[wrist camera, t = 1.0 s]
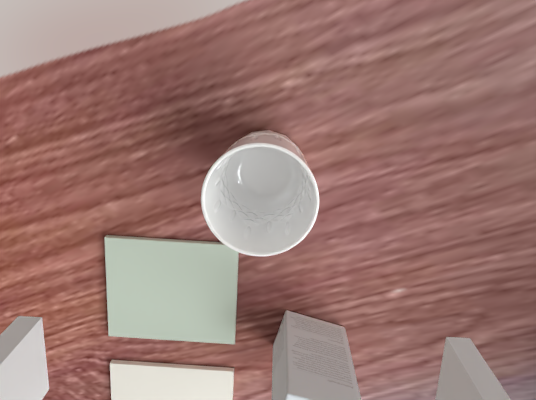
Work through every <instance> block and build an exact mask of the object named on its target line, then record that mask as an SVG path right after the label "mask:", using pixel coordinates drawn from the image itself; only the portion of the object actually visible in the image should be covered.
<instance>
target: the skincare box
mask: <svg viewBox="0 0 536 400" xmlns="http://www.w3.org/2000/svg"><path fill="white" fill-rule="evenodd" d="M272 400H361V396H360V392H359V388H358V383H357V379H356V375H355V370H354V366H353V361H352V357H351V353H350V348H349V343H348V339H347V335H346V330H345V328H344V327H343V326H339V325H336V324H332V323H329V322H325V321H322V320H319V319H315V318H312V317H308V316H305V315H301V314H298V313H295V312H291V311H288V310H286V311H285V314H284V317H283V319H282V322H281V325H280V328H279V330H278V333H277V336H276V339H275V342H274V344H273V366H272Z"/></svg>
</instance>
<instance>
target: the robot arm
mask: <svg viewBox="0 0 536 400" xmlns="http://www.w3.org/2000/svg"><path fill="white" fill-rule="evenodd" d="M48 390H49V382H48V372H47V362H46V352H45V342H44V332H43V322H42V317H26V316H18V317H17V318H16V319H15V320H14V321H13V322H12V323H11V324H10V325H9V326H8V327H7V329H6V330H5V331H4V332H3V333H2V334H1V335H0V400H42V399H43V397H44V396H45V394H46V393H47V391H48ZM435 400H511V399H510V397H509V396H508V394H507V393H506V391H505V390H504V388H503V387H502V385H501V384H500V382H499V381H498V379H497V378H496V376H495V375H494V374H493V372H492V371H491V369H490V368H489V366H488V365H487V363H486V362H485V360H484V359H483V357H482V356H481V354H480V353H479V351H478V350H477V348H476V347H475V345H474V344H473V342H472V341H471V339H470V338H457V337H446V341H445V347H444V353H443V358H442V364H441V370H440V376H439V382H438V387H437V393H436V399H435Z"/></svg>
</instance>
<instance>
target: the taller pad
mask: <svg viewBox="0 0 536 400" xmlns="http://www.w3.org/2000/svg"><path fill="white" fill-rule="evenodd" d="M110 380H111V400H233V385H234V368H229V367H214V366H199V365H184V364H169V363H154V362H139V361H124V360H111V362H110Z"/></svg>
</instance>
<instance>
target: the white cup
mask: <svg viewBox="0 0 536 400" xmlns="http://www.w3.org/2000/svg"><path fill="white" fill-rule="evenodd" d="M201 206H202V212H203V215H204V218H205V221H206V223H207V225H208V227H209V228H210V230H211V231H212V233H213V234H214V235H215V236H216V237H217V238H218V239H219V240H220V241H221V242H222V243H223V244H225V245H226V246H227V247H229V248H231V249H233V250H235V251H237V252H239V253H242V254H246V255H250V256H271V255H276V254H280V253H282V252H285V251H287V250H289V249H291V248H293V247H294V246H296V245H297V244H298V243H299V242H301V241H302V240H303V239H304V238H305V237H306V235H307V234H308V233H309V231H310V230H311V228H312V227H313V225H314V223H315V220H316V217H317V214H318V209H319V192H318V187H317V183H316V181H315V178H314V176H313V174H312V172H311V169H310V167H309V165H308V162H307V160H306V159H305V157H304V155H303V153H302V152H301V151H300V149H299V147H298V146H297V145H296V144H294V143H293V142H292V141H291V140H290V139H289V138H288V137H287V136H286V135H283V134H280V133H277V132H274V131H271V130H264V131H257V132H251V133H249V134H248V135H246V136H245V137H243V138H241V139H239V140H238V141H236V142H235V143H234V144H233V145H231V146H230V147H229V148H228V149H227V150H226V151H225V152H224V153H223V154H222V156H221V157H220V158H219V159H218V160H217V161H216V162H215V163H214V164H213V165H212V167H211V168H210V170H209V171H208V173H207V175H206V177H205V180H204V182H203V186H202V191H201Z"/></svg>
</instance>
